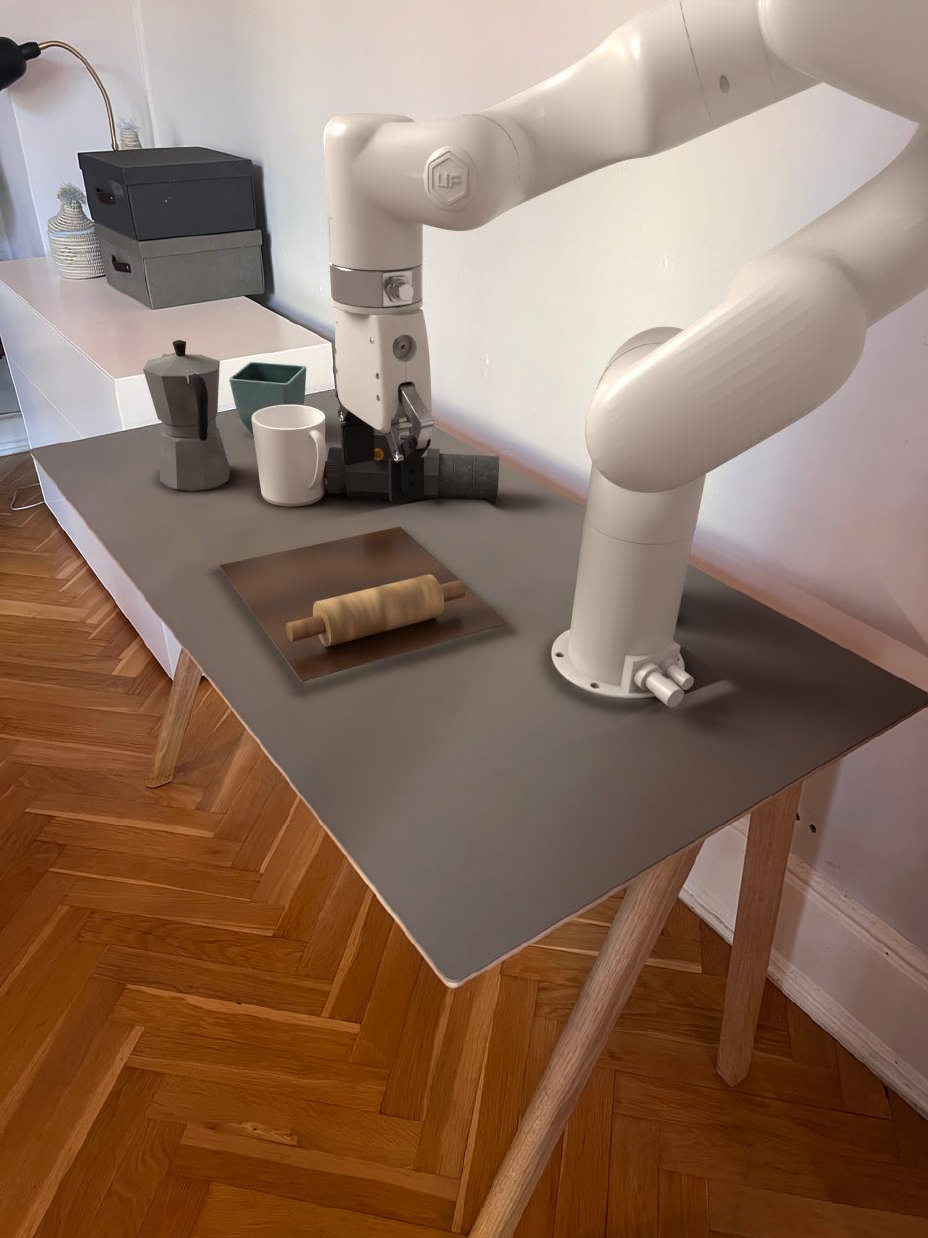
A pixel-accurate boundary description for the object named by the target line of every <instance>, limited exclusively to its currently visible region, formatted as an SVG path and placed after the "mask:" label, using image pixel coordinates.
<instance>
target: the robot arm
mask: <svg viewBox="0 0 928 1238" xmlns="http://www.w3.org/2000/svg"><path fill="white" fill-rule="evenodd" d="M823 83H824V84H826V85H828V86H830V87H831V88H835V89H836V90H839V91H841V92H842V93H845V94H847V95H849V96H852V97H854V98H856V99H859V100H861V101H863V102H864V103H867V104H870V105H872V106H875V107H877V108H878V109H879V108H880V109H882V110H884V111H887V112H888V113H892V114H893V115H896V116H898V117H901V118H903V119H905V120H909V121H911V122H913V123H916V124H917V126H916V128H915V130H914V132H913V134H912V135H911V137H910V139H909V141H908V142H907V144H906V145H905V146H904V148H903V149H902V150H901V151H900V153H899V154H898V155H897V156H895V158H894V159H893V160H892V161H891V162H890V163H889V164H887V165H886V167H884V168H883V169H882V170H880V172H878V173H877V174H876V175H875V176H873V177H872V178H870V179H869V180H867V181H866V182H865V183H863V184H862V185H861V186H859V187H858V188H857V189H856V190H855V191H853V192H851V194H849V195H848V196H847V197H845V198H844V199H843V200H842V201H840V202H838V203H836V205H834V206H833V207H831V208H830V209H828V210H826V211H825V212H823V213H822V214H820V215H819V216H817V218H815V219H813V220H812V221H811V222H809V223H808V224H806V225H805V226H804V227H802V228H800V229H799V230H797V231H796V232H794V233H793V234H791V235H790V236H789V237H787V238H785V239H784V240H782V241H781V242H779V243H777V244H776V245H773V247H770V249H768V250H766V251H765V252H763V253H761V254H759V255H758V256H756V257H755V258H753V259H751V260H750V261H748V262H747V263H746V264H745V265H744V266H743V267H742V268H741V269H739V271H737V273H736V274H735V275H734V277H733V278H732V279H731V281H730V282H729V284H728V285H727V287H726V290H725V292H724V294H723V297H722V299H721V303H720V304H718V305H717V306H716V307H714V308H713V309H712V310H710V311H709V312H708V313H705V314H704V315H703V316H702V317H699V319H697V320H696V321H694V322H693V323H692V324H690V325H689V326H687V327H685V328H684V329H683V328H680V327H675V326H656V327H652V328H648V329H644V330H642V331H640V332H638V333H636V334H635V335H633V336H632V337H630V338H628V339H627V340H626V341H624V342H623V344H621V345H620V346H619V347H618V349H617V350H616V351H615V352H614V353H613V354H612V356H611V358H610V359H609V361H608V362H607V364H606V366H605V368H604V370H603V371H602V375H601V376H600V378H599V381H598V384H597V386H596V390H595V391H594V393H593V395H592V397H591V400H590V403H589V405H588V409H587V412H586V417H585V422H584V423H585V424H584V438H585V444H586V450H587V453H588V455H589V458H590V460H591V468H590V474H589V482H588V490H587V497H586V505H585V511H584V516H583V525H582V526H583V527H582V533H581V534H582V535H581V541H580V550H579V557H578V566H577V574H576V582H575V591H574V598H573V604H572V605H573V606H572V614H571V623H570V628H568V629H567V630H565V631H563V632H562V633H560V635H558V636H557V638H556V639H555V640H554V641H553V644H552V647H551V652H550V653H551V660H552V663H553V665H554V667H555V669H556V670H557V671H558V672H559V674H560V675H562V677H564V678H565V679H566V680H567V681H569V682H570V683H572V684H573V685H575V686H577V687H579V688H581V689H582V690H585V691H587V692H589V693H593V694H595V695H598V696H603V697H607V698H614V699H623V700H641V699H647V698H654V697H656V698H657V699H658V700H659V701H660V702H662V703H663V704H664V705H665V706H667V707H668V708H671V709H672V708H675V707H677V706H678V705H680V703H681V702H682V701H683V699H684V697H685V691H688V690H689V689H690V688H692V687H693V685H694V682H695V678H694V677H693V676H691V675H690V674H689V673H688V672H686V671H685V669H686V667H685V661H684V659H683V657H682V654H681V653H680V652H681V644H679V643H678V642H676V641H675V640H674V637H675V633H676V628H677V627H676V626H677V621H678V617H679V612H680V606H681V603H682V597H683V592H684V588H685V587H684V586H685V583H686V576H687V572H688V566H689V561H690V556H691V552H692V548H693V547H692V546H693V541H694V537H695V531H696V528H697V524H698V519H699V514H700V508H701V502H702V499H703V493H704V487H705V482H706V478H707V477H706V476H707V474H708V473H710V472H712V471H714V470H715V469H717V468H719V467H721V466H723V465H724V464H726V463H727V462H729V461H731V460H733V459H735V458H737V457H739V456H740V455H742V454H743V453H745V452H747V451H748V450H751V449H752V448H753V447H756V446H757V445H758V444H761V443H762V442H765V441H766V440H767V439H769V438H771V437H773V436H774V435H776V434H778V433H779V432H781V431H783V430H785V429H786V428H788V427H790V426H792V425H794V424H795V423H796V422H798V421H800V420H802V419H803V418H805V417H806V416H808V415H810V414H811V413H813V412H814V411H815V410H817V409H818V408H819V407H820V406H822V405H823V404H825V403H826V402H827V401H828V400H829V399H830V398H832V397H833V395H835V394H836V393H837V392H838V391H839V390H840V389H841V388H842V387H843V386H844V384H845V383H846V382H848V380H849V378H850V377H851V375H852V374H853V373H854V371H855V370H856V368H857V366H858V364H859V362H860V359H861V358H862V354H863V351H864V347H865V344H866V339H867V338H866V337H867V330H868V329H869V328H870V327H872V326H873V325H875V324H877V323H878V322H879V321H881V320H882V319H884V318H885V317H888V316H889V315H890V314H892V313H893V312H895V311H896V310H898V309H900V308H901V307H903V306H904V305H905V304H907V303H909V302H910V301H911V300H913V299H915V298H916V297H917V296H919V295H920V294H922V293H923V292H925V291H926V290H927V289H928V0H665V1H662V2H661V3H659V4H656V5H655V6H653V7H651V8H648V9H647V10H645V11H643V12H640V13H638V14H637V15H635V16H633V17H632V18H630V19H628V20H627V21H625V22H624V23H623V24H621V25H620V26H618V27H617V28H616V29H614V30H613V31H612V32H611V33H610V34H609V35H608V36H607V37H606V38H605V39H604V40H603V41H602V42H601V43H600V44H599V45H598V46H596V48H595V49H593V50H592V51H591V52H589V54H587V55H585V56H584V57H583V58H581V59H580V60H578V61H577V62H575V63H573V64H572V65H570V66H568V67H567V68H565V69H564V70H562V71H559V72H557V73H556V74H554V75H552V76H551V77H548V78H547V79H545V80H543V81H541V82H539V83H537V84H535V85H533V86H531V87H529V88H527V89H525V90H524V91H521V92H519V93H518V94H515V95H513V96H510V97H509V98H507V99H505V100H503V101H501V102H499V103H497V104H495V105H492V106H490V107H488V108H486V109H483V110H481V111H477V112H476V111H475V112H471V113H465V114H461V115H458V116H453V117H446V118H439V119H433V120H424V121H423V120H421V121H415V120H414V119H413V118H411V117H410V116H409V117H408V116H406V115H401V114H395V113H382V112H381V113H380V112H377V113H375V112H350V113H342V114H338V115H335V116H333V117H332V118H331V119H329V120H328V122H327V124H326V125H325V128H324V131H323V161H324V162H323V163H324V181H325V200H326V219H327V220H326V221H327V241H328V242H327V243H328V259H329V260H328V261H329V278H330V279H329V280H330V297H331V306H332V307H333V308H335V324H334V325H335V326H334V327H335V328H334V329H335V332H334V333H335V334H334V351H335V352H334V357H335V358H334V359H335V360H334V362H335V364H334V365H332V373H333V377H334V382H335V386H336V389H335V398H336V399H337V402H338V404H339V408H338V410H337V416H338V420H339V422H340V426H339V427H340V445H341V447H340V448H342V462H343V463H344V464H346V465H352V464H357V463H362V462H367V461H372V460H373V459H374V458H375V444H374V428H375V429H377V430H378V431H380V432H382V433H385V434H386V437H387V440H388V443H389V446H390V450H391V453H392V456H393V458H392V459H388V466H389V499H388V500H389V502H391V503H393V504H401V503H404V502H409V501H412V500H414V499H418V498H422V497H423V495H424V457H426V456H427V449H428V448H430V446H431V442H432V439H431V437H432V434H433V431H434V428H435V420H434V418H433V408H432V407H433V405H432V404H433V403H432V378H431V377H432V375H431V374H432V373H431V361H430V348H429V339H428V331H427V324H426V319H425V314H424V310H423V309H422V307H423V305H424V303H423V301H424V298H423V297H424V296H423V295H424V293H423V289H424V288H423V287H424V286H423V285H424V284H423V283H424V281H423V280H424V279H423V274H424V273H423V271H424V270H423V269H424V268H423V266H424V265H423V262H424V249H423V247H424V228H423V227H424V226H428V227H432V228H436V229H441V230H445V231H452V232H467V231H472V230H476V229H479V228H481V227H483V226H485V225H487V224H489V223H490V222H491V221H493V220H495V219H497V218H498V217H500V216H501V215H502V214H504V213H506V212H508V211H510V210H512V209H514V208H516V207H518V206H520V205H522V204H524V203H526V202H529V201H530V200H533V199H535V198H537V197H539V196H541V195H543V194H546V193H549V192H550V191H551V192H552V191H553V190H555V189H557V188H560V187H561V186H564V185H566V184H569V183H570V182H573V181H575V180H577V179H579V178H583V177H584V176H587V175H589V174H592V173H594V172H596V171H597V172H598V171H599V170H602V169H604V168H606V167H609V166H612V165H614V164H618V163H621V162H624V161H630V160H637V159H643V158H649V157H652V156H656V155H658V154H661V153H664V152H666V151H669V150H673V149H674V148H677V147H680V146H682V145H684V144H686V143H689V142H690V141H693V140H695V139H697V138H699V137H702V136H704V135H706V134H708V133H710V132H713V131H715V130H718V129H720V128H722V127H724V126H726V125H729V124H731V123H733V122H736V121H737V120H741V119H742V118H745V117H747V116H749V115H751V114H753V113H756V112H758V111H761V110H763V109H765V108H768V107H769V106H772V105H774V104H776V103H779V102H781V101H784V100H786V99H789V98H791V97H793V96H796V95H798V94H799V93H803V92H805V91H806V90H809V89H811V88H814V87H816V86H819V85H820V84H823ZM397 419H399V420H403V419H406V420H405V421H399V422H398V423H393V424H392V420H397ZM398 433H399V434H403V433H409V435H410V436H408V437H407V438H406V439H405V441H404V442H403V443H402V445H401V443H400V436H399V437H398ZM557 655H561V656H562V657H559V656H557ZM593 686H597V687H593Z"/></svg>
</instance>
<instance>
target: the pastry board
mask: <svg viewBox="0 0 928 1238" xmlns="http://www.w3.org/2000/svg"><path fill="white" fill-rule="evenodd" d="M218 566H219V568H220V570H222V572H223V573H224V575H225V576H226V578H227V579H228V580H229V582H230V584H231V585H232V586H233V588H234V589H235V591H236V592H237V593H238V595H239V596H240V598H241V599H242V600H243V602H244V603H245V605H246V606H247V607H248V609H249V610H250V612H251V613H252V614H253V616H254V618H255V619H256V620H257V622H258V623H259V625H260V626H261V628H262V629H263V630H264V632H265V633H266V634H267V636H268V637H269V639H270V640H271V641H272V643H273V644H274V646H275V647H276V649H277V650H278V652H279V653H280V654H281V656H282V657H283V659H284V660H285V661H286V663H287V664H288V665H289V667H290V668H291V670H292V671H293V672H294V674H295V675H296V677H297V678H298V680H299V681H300V682H301V683H303V682H306V681H309V680H313V679H317V678H320V677H323V676H327V675H331V674H334V673H338V672H342V671H346V670H350V669H352V668H355V667H359V666H363V665H366V664H370V663H373V662H378V661H380V660H384V659H387V658H390V657H394V656H399V655H401V654H405V653H409V652H412V651H416V650H419V649H422V648H426V647H430V646H433V645H436V644H440V643H444V642H448V641H451V640H455V639H458V638H462V637H465V636H469V635H472V634H476V633H478V632H483V631H487V630H490V629H494V628H497V627H501V626H504V625H508V622H507V621H506V620H505V619H504V618H503V617H502V616H500V614H498V613H497V612H496V611H495V610H494V609H493V608H492V607H490V606H489V604H487V603H486V602H485V601H483V600H482V598H480V597H479V595H477V594H476V593H475V592H474V591H472V589H470V588H469V587H468V586H467V585H466V584H465V583H464V582H463V584H464V586H465V590H466V594H465V596H464V597H463V598H459V599H455V600H451V601H447V602H444V611H443V614H442V615H441V616H440V617H437V618H434V619H430V620H426V621H423V622H419V623H415V624H411V625H408V626H404V627H400V628H396V629H393V630H389V631H385V632H381V633H378V634H374V635H370V636H367V637H363V638H359V639H355V640H352V641H348V642H344V643H340V644H337V645H333V646H329V647H326V646H325V645H324V644H323V643H322V642H321V640H320V638H319V636H318V635H317V636H313V637H309V638H305V639H301V640H297V641H294V642H291V641H290V639H289V638H288V635H287V631H286V624H287V623H289V622H293V621H297V620H301V619H305V618H309V617H313V606H314V603H315V602H316V601H320V600H325V599H329V598H333V597H337V596H341V595H345V594H349V593H353V592H358V591H362V590H366V589H370V588H374V587H378V586H382V585H386V584H391V583H395V582H399V581H403V580H407V579H411V578H415V577H419V576H424V575H428V574H430V575H433V576H434V577H435V578H436V579H437V581H438V582H439V584H440V585H441V584H445V583H449V582H453V581H457V580H460V579H459V578H458V577H457V576H456V575H455V574H453V572H451V571H450V570H449V569H448V568H447V567H446V566H444V565H443V564H442V563H441V562H440V561H439V560H438V559H437V558H436V557H435V556H433V554H431V553H430V552H429V551H428V550H427V549H426V548H425V547H423V546H422V545H421V544H420V543H419V542H418V541H417V540H416V539H414V537H412V535H410V534H409V533H408V532H407V531H406V530H405V529H403V527H401V526H396V527H392V528H391V527H390V528H386V529H381V530H378V531H377V530H376V531H371V532H368V533H363V534H358V535H353V536H349V537H344V538H340V539H335V540H330V541H325V542H321V543H316V544H312V545H307V546H303V547H297V548H293V549H289V550H284V551H279V552H275V553H270V554H265V555H260V556H255V557H251V558H246V559H242V560H237V561H232V562H228V563H223V564H219V565H218Z"/></svg>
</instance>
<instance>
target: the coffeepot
mask: <svg viewBox="0 0 928 1238" xmlns="http://www.w3.org/2000/svg"><path fill="white" fill-rule="evenodd" d="M172 346H173V350H174V352H172V353H163V354H162V355H161V357H156V358H152V359H148V360H147V361H146V363H145V364H144V367H143V369H142V371H143V374H144V377H145V380H146V384H147V387H148V390H149V391H148V392H149V394H150V398H151V401H152V405H153V408H154V410H155V414H156V418H157V420H159V421H161V428H162V432H161V439H160V440H161V441H160V442H161V443H160V468H159V482H160V483H162V484H163V485H164V486H166V487H168V488H169V489H172V490H175V491H182V492H200V491H207V490H211V489H215V488H218V487H221V486H223V485H224V484H225V483H227V482H228V481H229V479H230V473H231V468H230V464H229V461H228V458H227V453H226V449H225V445H224V443H223V438H222V435H221V433H220V429H219V428H218V426H217V420H216V418H217V416H218V409H219V389H220V388H219V387H220V366H221V364H220V363H221V360H219V359H216V358H212V357H209V356H206V355H203V354H193V353H192V354H189V353H186V352H187V350H186V349H187V341H186V340H181V339H176V340H173V341H172Z"/></svg>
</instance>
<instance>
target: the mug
mask: <svg viewBox="0 0 928 1238" xmlns="http://www.w3.org/2000/svg"><path fill="white" fill-rule="evenodd" d="M252 427H253V434H254V435H253V434H252V435H253V442H254V448H255V455H256V465H257V470H258V477H259V486H260V493H261V496H262V498H263V499H264V501H266V502H267V503H269V504H271V505H275V506H279V507H288V508H291V507H292V508H293V507H297V508H298V507H303V506H308V505H309V506H310V505H311V504H314V503H317V502H319V501H320V500H321V499H323V496H324V495H325V493H326V492H325V491H326V489H325V488H326V479H325V478H324V468H325V461H326V460H327V444H326V415H325V413H324V412H323V411H322V410H320V409H318V408H316V407H312V406H308V405H304V404H303V405H277V406H271V407H266V408H263V409H260V410H258V411H256V412H255V413H254V414H253V415H252Z"/></svg>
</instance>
